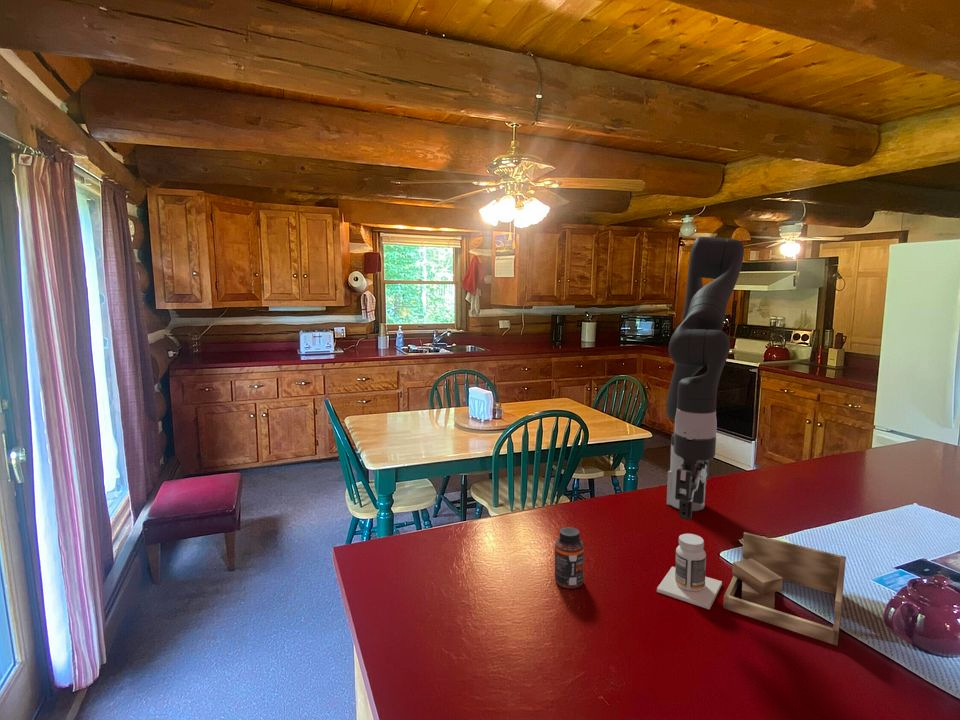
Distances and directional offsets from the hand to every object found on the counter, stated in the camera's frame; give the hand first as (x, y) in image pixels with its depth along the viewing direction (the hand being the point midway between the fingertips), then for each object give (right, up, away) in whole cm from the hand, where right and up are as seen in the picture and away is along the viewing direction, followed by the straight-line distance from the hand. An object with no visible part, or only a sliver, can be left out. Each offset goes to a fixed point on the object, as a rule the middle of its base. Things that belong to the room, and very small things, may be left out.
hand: (691, 510), depth 103 cm
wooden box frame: (+17, -17, -3) cm, 24 cm away
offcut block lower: (+13, -17, 0) cm, 22 cm away
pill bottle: (+1, -16, +2) cm, 16 cm away
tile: (+1, -17, +2) cm, 17 cm away
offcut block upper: (+13, -14, 0) cm, 19 cm away
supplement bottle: (-23, -17, +5) cm, 29 cm away
